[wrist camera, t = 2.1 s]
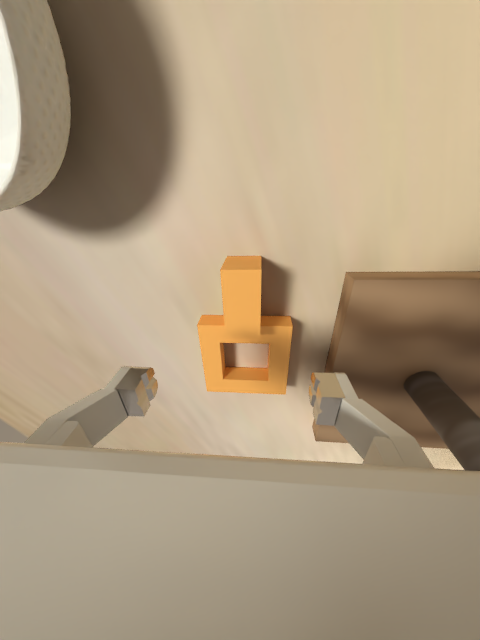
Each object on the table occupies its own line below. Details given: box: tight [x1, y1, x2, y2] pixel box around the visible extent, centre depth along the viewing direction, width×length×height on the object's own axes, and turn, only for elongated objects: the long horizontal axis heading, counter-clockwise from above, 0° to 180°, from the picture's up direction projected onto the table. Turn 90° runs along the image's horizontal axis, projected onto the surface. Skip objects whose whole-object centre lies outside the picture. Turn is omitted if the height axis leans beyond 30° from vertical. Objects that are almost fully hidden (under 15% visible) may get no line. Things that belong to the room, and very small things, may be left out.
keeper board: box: [313, 271, 480, 471], centre depth 18 cm, size 22×18×15 cm
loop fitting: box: [197, 256, 293, 394], centre depth 21 cm, size 15×9×4 cm, turn 2°
